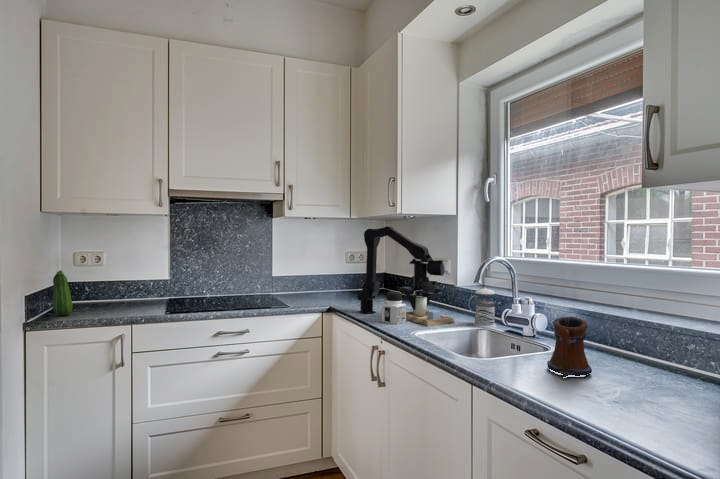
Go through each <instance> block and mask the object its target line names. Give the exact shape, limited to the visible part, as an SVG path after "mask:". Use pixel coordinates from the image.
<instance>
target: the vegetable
mask: <svg viewBox="0 0 720 479" xmlns="http://www.w3.org/2000/svg"><path fill="white" fill-rule="evenodd" d="M68 282H69V281H68V278H67V276H66V275H65V274H64V272H63V270H58V271H56V273H55V275H54V276H53V278H52V284H53V295H52V296H53V298H52V307H53V308H52V310H53V313H54V314H55V315H56V316H58V317H67V316H69V315H71V313H72V311H73V307H74V306H73V300H72V296H71V291H70V287H69V283H68Z"/></svg>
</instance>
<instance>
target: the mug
mask: <svg viewBox="0 0 720 479" xmlns="http://www.w3.org/2000/svg"><path fill="white" fill-rule="evenodd" d="M552 323H553V328H554V333H553V335H554V337H555V343H554V344H555V346H554V350H553V352H552V355H551V358H550V360H547V362H546V363H547V364H546V365H547V369H548V368H549V369H551V370H553V371H555V372H558V373H561V374H563V375H562V376H561V377H566V376H568V375H575V376H580V375H587V374H589V373H591V374H592V372H593V368H592V367H591V365H590V364H589V362H588V358H587V356H586V353H585V352H586V351H585V342H584V341H585V340H586V338H587V335H586V334H587V333H586V331H587V328H588V323H587V321H585V320H583V319H582V318H579V317H575V316H563V317H558V318H556V319H555V320H554V321H552Z"/></svg>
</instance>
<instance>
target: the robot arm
mask: <svg viewBox="0 0 720 479" xmlns="http://www.w3.org/2000/svg"><path fill="white" fill-rule="evenodd" d="M387 236H388V237H389V238H390V239H392V240H393V241H395V242H396V243H398V244H399V245H401V246H402V247H403V248H405V249H406V250H407V251H408V253H409V254H410V255H411V256H412V257H413V259H411V261H410V262H409V264H410V265H413V276H411V279H413V284H412V285H411V287H410V286H401V287H400V288H399V290H398V292H401V293H402V295H404V296H406V297H407V299H408V301H409V303H410V306H411V308H412V311H413V310H415V305H416V297H417V296H418V294H416V293H422V296H424V297H427V307H428V305H429V302H430V300H431V298H432V297H433V296H436V294H440V293H441V288H440V286H439V282H438V281H437V280H433V281H430V278H429V277H428V274H429V276H439V277H442V276H444V274H445V264H444V260H443V259H439V260H436V259H435V260H434V259H433V258H432V256H431V255H430V253H429V248H427V247H426V246H424V245H421V244H420V243H417V242H414V241H412V240H411V239H409V238H408V237H407V236H405V235H404V234H402V233H400V232H399V231H398V230H396V229H395V228H394V227H393V226H385V227H380V228H368V229H366V230H364V232H363V239H364V240H363V241H364V244H365V245H366V266H365V267H366V270H365V271H366V272H365V279H364V281H363V284H362V289H361V292H360V293H359V294H358V295H356V297H357V299H358V301H360V310H357V312H358V313H361V314H363V315H365V314H376V311H374V299H375V300H376V297H377V295H378V294H379V292H380V291H381V287H380V286H381V281H378V280H377V260H378V259H377V255H378V254H377V253H378V251H377V250H378V246H379V245H380V241H381V238H384V237H387Z"/></svg>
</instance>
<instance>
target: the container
mask: <svg viewBox="0 0 720 479" xmlns="http://www.w3.org/2000/svg"><path fill="white" fill-rule="evenodd" d="M402 302H403V294H402V293H401V292H399V291H396V290H394V291H388V292H386V303H383V304H381V322H382V323H384V322H385V324H390V323H391V325H399V324H403V323H406V322H407V319H406V312H407V304H406V303H402Z"/></svg>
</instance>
